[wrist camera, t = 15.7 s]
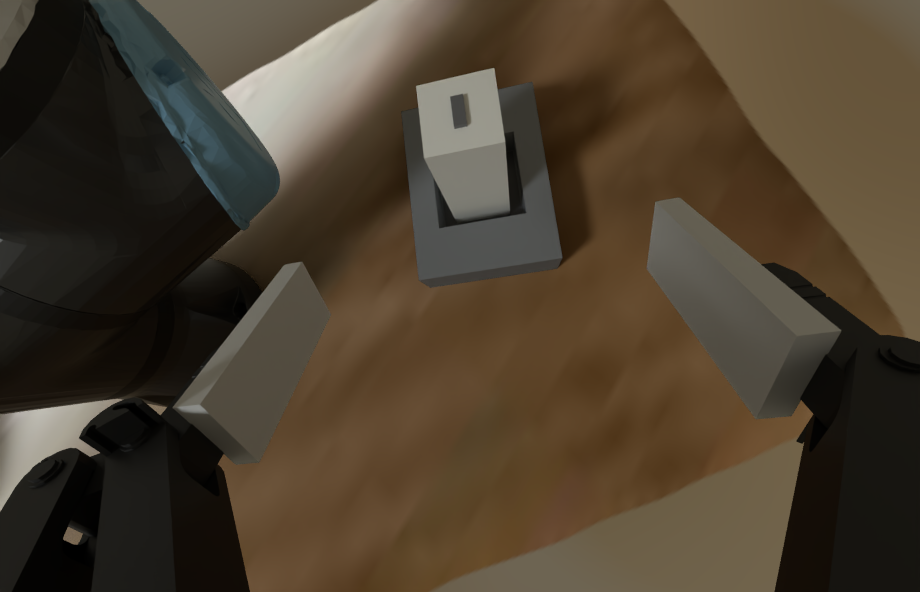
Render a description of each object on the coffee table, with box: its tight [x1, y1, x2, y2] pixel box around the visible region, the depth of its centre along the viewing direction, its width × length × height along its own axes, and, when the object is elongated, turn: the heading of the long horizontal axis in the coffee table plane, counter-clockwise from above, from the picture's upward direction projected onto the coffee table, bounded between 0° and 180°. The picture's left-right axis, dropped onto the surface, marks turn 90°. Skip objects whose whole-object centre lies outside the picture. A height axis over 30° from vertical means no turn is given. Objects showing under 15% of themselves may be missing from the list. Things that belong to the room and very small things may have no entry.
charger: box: [416, 68, 510, 224], centre depth 28 cm, size 5×5×12 cm
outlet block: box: [401, 82, 562, 288], centre depth 33 cm, size 16×12×4 cm
